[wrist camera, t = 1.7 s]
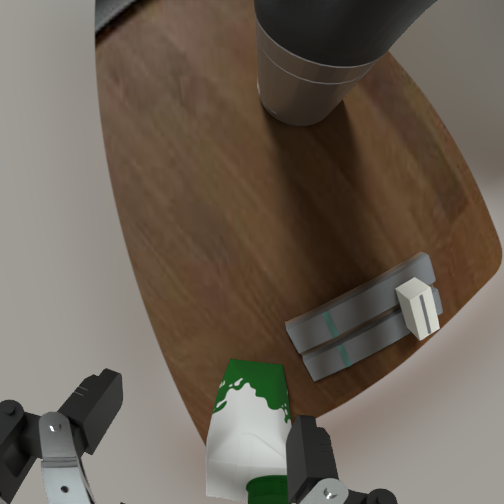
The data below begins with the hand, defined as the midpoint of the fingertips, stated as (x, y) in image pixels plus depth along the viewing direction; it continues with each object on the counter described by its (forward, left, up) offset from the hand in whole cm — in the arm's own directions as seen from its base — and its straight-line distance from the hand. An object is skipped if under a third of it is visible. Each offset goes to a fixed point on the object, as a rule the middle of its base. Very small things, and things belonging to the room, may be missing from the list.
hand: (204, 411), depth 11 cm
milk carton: (+6, +15, -24) cm, 29 cm away
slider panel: (-12, +13, -24) cm, 30 cm away
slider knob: (-17, +13, -22) cm, 31 cm away
